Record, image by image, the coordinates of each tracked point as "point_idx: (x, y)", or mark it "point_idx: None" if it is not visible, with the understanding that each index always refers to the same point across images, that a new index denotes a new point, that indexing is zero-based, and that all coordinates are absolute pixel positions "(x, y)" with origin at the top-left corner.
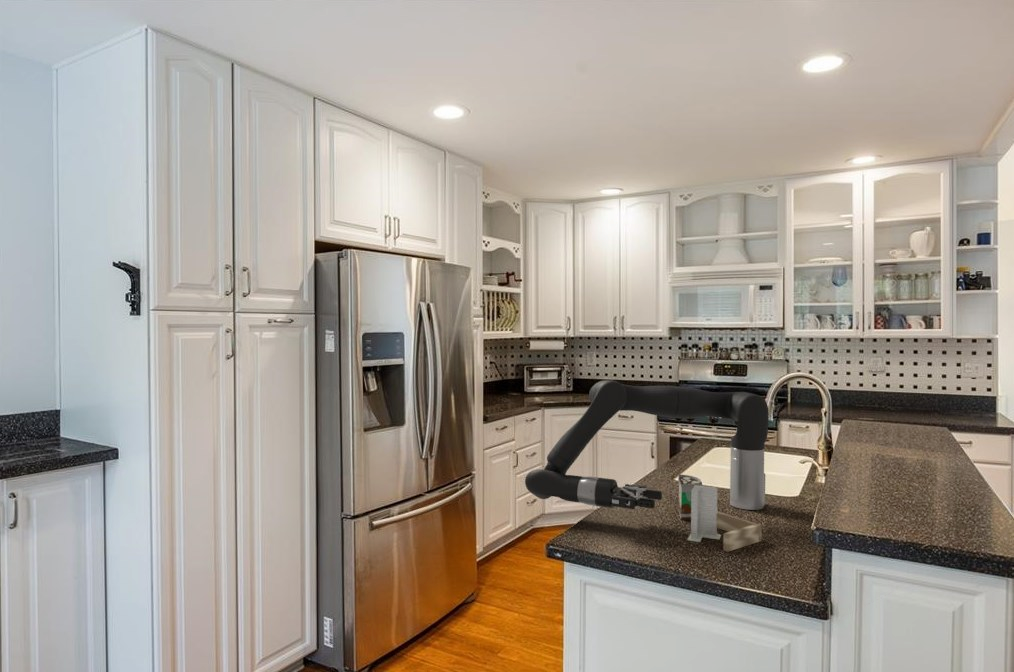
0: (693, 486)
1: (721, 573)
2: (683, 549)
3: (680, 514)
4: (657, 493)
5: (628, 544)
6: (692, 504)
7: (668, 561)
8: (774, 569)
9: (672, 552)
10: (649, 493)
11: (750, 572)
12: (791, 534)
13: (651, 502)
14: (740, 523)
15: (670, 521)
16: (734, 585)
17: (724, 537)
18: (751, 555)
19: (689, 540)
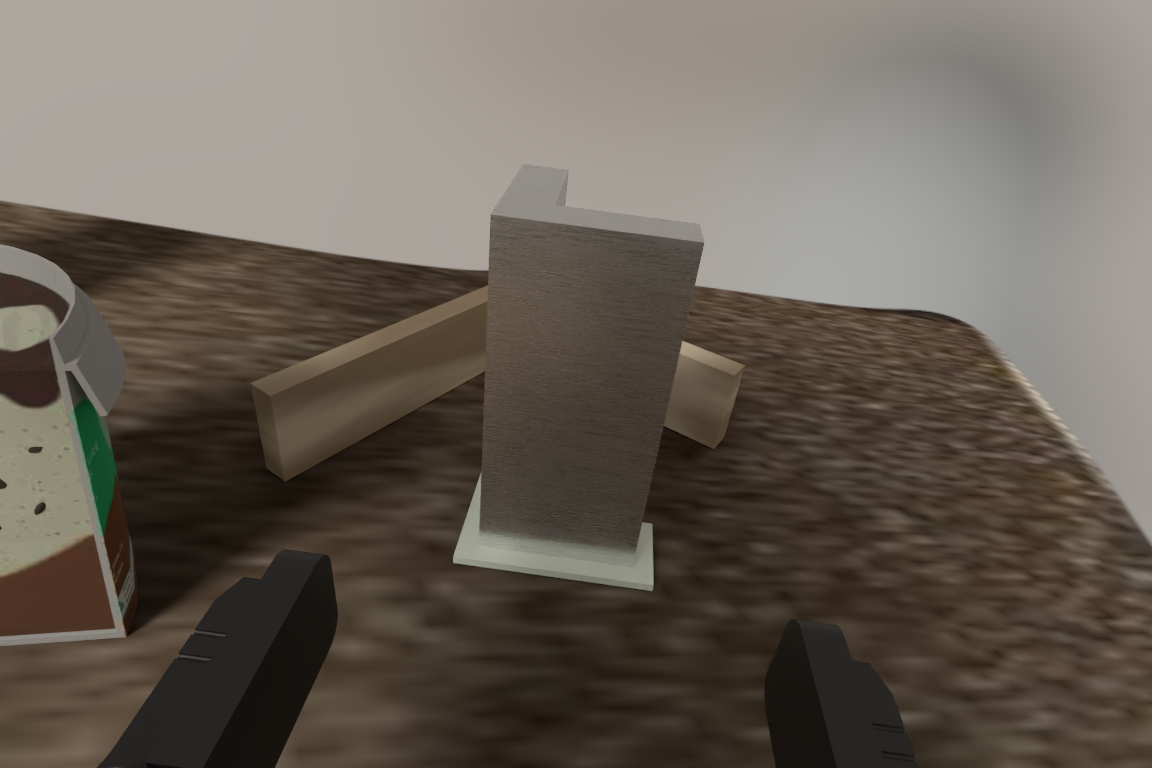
0: (84, 300)
1: (1009, 474)
2: (842, 614)
3: (3, 630)
4: (304, 615)
5: None
6: (678, 354)
7: (1134, 696)
8: (806, 351)
9: (955, 677)
10: (239, 759)
11: (898, 401)
12: (395, 276)
13: (857, 668)
14: (462, 327)
15: None
16: (1080, 449)
17: (732, 390)
18: None
19: (650, 580)
